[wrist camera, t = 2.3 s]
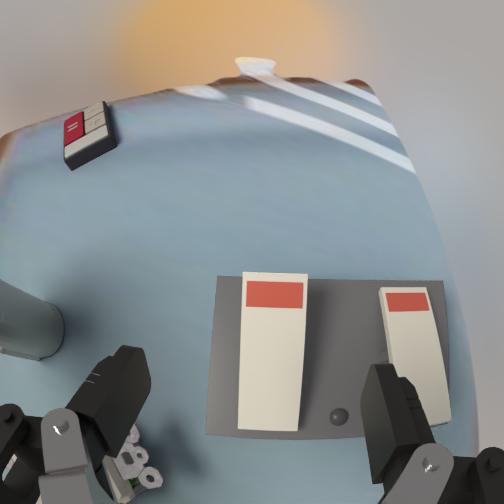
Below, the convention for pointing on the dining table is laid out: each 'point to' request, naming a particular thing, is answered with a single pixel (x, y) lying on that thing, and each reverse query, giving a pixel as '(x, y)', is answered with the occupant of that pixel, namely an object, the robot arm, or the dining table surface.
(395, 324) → the rocker
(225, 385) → the rocker switch panel
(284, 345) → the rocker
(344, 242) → the dining table surface
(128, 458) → the grey boxy piece
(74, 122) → the calculator
